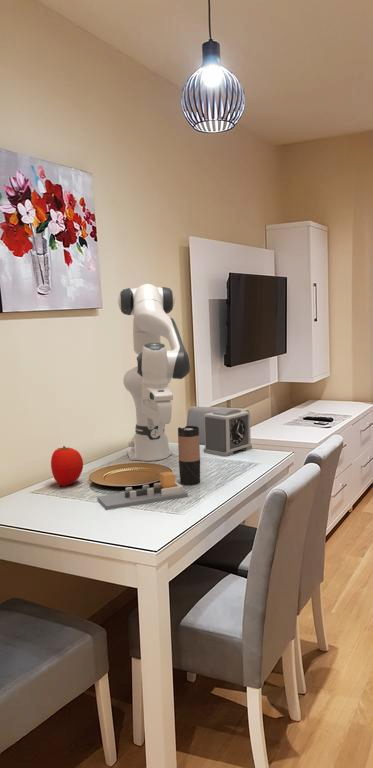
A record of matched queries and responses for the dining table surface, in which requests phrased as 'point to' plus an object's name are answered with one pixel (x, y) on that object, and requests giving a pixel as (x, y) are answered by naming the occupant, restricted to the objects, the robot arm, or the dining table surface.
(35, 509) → the dining table surface
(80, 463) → the red apple
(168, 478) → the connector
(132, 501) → the clip board
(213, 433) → the alarm clock
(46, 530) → the dining table surface
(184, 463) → the travel mug
